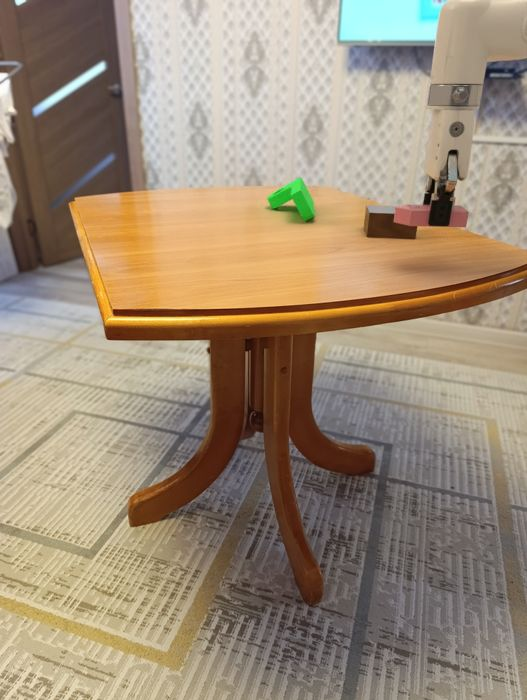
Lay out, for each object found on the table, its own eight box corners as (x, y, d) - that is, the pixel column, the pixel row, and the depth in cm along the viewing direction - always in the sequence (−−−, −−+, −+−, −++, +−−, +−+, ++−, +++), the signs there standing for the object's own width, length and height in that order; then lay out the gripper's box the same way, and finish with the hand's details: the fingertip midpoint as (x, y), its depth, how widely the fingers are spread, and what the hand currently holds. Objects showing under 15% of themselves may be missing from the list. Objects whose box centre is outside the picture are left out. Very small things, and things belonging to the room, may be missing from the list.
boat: (458, 220, 86) (463, 193, 84) (466, 227, 81) (471, 198, 79) (391, 218, 87) (394, 191, 85) (395, 225, 82) (399, 197, 80)
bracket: (280, 220, 135) (267, 195, 132) (314, 202, 132) (301, 176, 129) (277, 239, 117) (261, 210, 114) (315, 218, 114) (300, 189, 111)
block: (409, 229, 112) (412, 206, 110) (415, 239, 105) (419, 214, 103) (363, 227, 113) (366, 204, 111) (366, 236, 106) (369, 212, 104)
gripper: (497, 99, 68) (471, 235, 76) (464, 98, 83) (446, 211, 91) (440, 99, 68) (420, 234, 77) (417, 98, 83) (403, 210, 92)
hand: (434, 220), depth 84 cm, fingers closed on boat, 5 cm apart
